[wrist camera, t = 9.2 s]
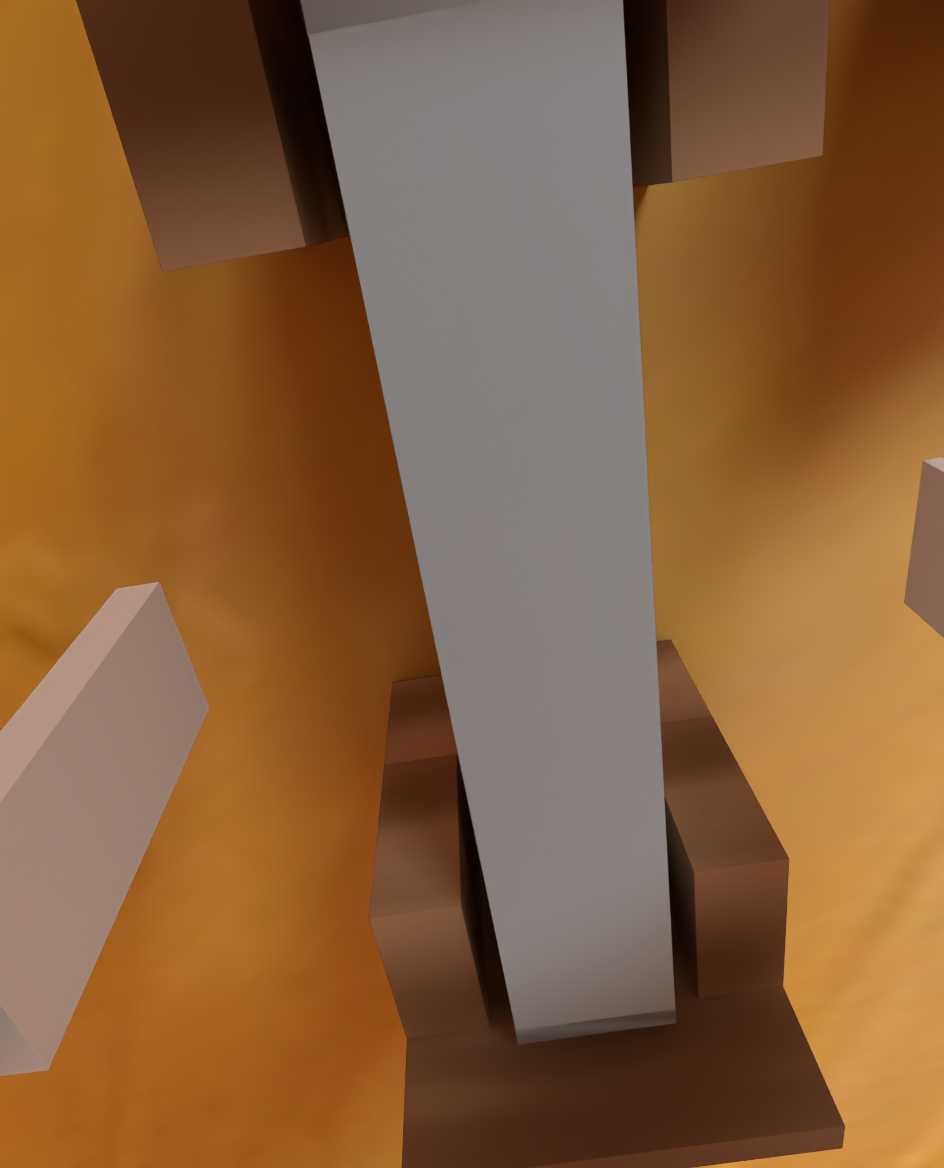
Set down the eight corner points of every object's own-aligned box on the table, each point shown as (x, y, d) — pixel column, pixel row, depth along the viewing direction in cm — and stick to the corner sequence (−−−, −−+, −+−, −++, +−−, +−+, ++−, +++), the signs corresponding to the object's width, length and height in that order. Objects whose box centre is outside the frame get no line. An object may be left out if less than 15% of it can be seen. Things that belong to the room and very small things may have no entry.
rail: (353, 71, 13) (295, -22, 8) (547, 36, 13) (619, -82, 8) (498, 840, 22) (518, 1044, 17) (617, 823, 22) (676, 1023, 16)
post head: (222, -7, 16) (-217, -450, 5) (639, -86, 16) (1069, -728, 5) (284, 245, 18) (63, 293, 8) (650, 181, 18) (965, 134, 7)
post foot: (392, 682, 24) (354, 1061, 13) (670, 639, 24) (860, 992, 13) (421, 799, 26) (408, 1204, 16) (676, 761, 26) (842, 1148, 15)
